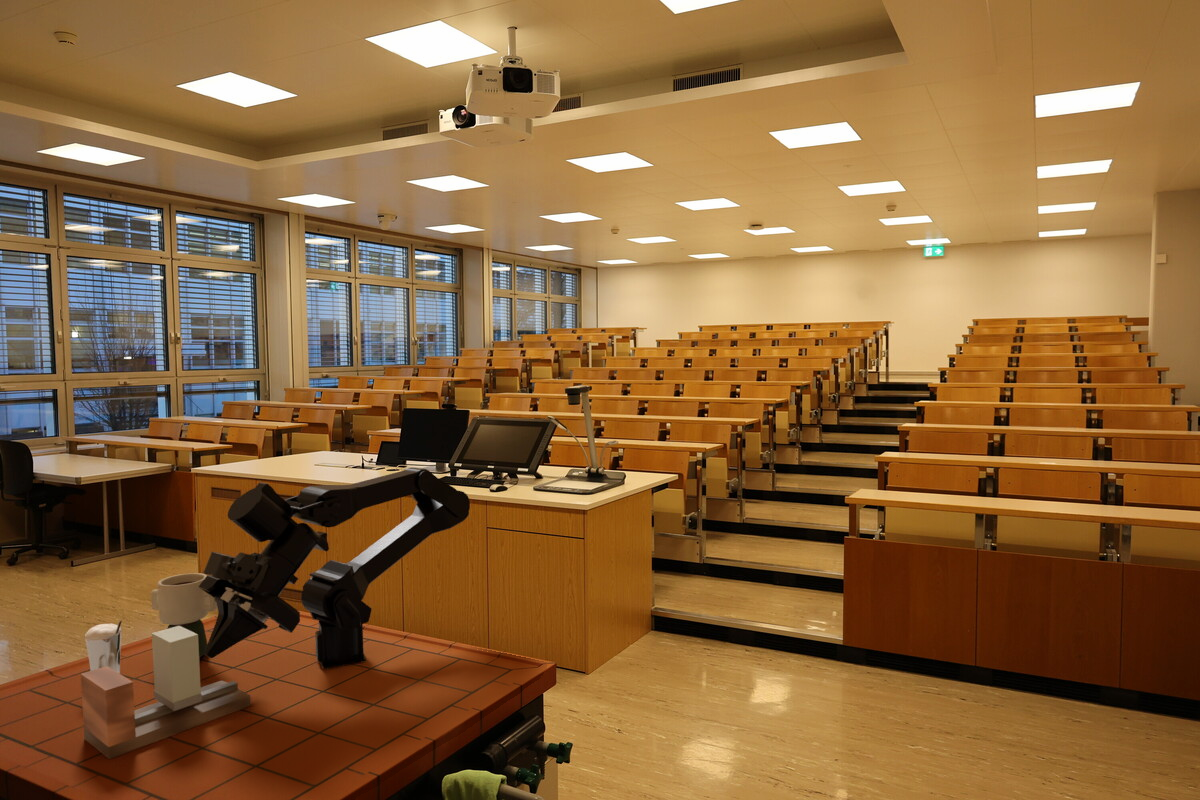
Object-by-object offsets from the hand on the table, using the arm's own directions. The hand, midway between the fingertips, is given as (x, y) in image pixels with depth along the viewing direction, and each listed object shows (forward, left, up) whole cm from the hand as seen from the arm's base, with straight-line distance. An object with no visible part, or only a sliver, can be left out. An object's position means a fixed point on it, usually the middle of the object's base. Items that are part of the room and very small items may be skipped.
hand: (207, 656), depth 106 cm
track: (+5, +2, -7) cm, 9 cm away
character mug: (+3, -21, -7) cm, 22 cm away
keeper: (+4, +2, -5) cm, 6 cm away
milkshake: (+13, -15, -7) cm, 21 cm away
